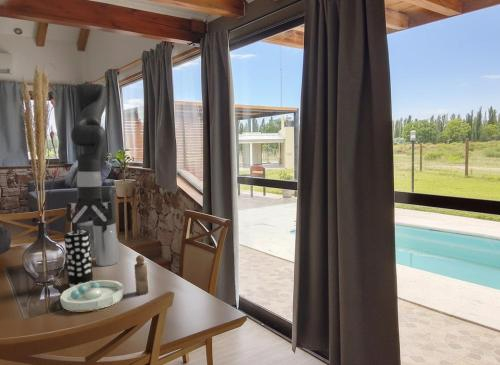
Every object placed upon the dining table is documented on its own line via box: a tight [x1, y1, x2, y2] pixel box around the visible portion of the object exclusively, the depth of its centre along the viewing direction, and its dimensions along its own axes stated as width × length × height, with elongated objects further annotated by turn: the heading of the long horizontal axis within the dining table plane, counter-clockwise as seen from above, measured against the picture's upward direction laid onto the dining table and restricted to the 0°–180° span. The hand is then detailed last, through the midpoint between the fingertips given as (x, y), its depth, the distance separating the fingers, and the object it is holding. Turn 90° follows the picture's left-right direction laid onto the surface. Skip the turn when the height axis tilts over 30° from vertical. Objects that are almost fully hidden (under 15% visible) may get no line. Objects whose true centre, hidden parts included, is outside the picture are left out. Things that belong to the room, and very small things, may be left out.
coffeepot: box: [77, 216, 96, 259], centre depth 182 cm, size 15×9×18 cm, turn 87°
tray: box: [59, 279, 124, 311], centre depth 131 cm, size 19×19×4 cm
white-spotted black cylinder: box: [63, 229, 94, 289], centre depth 144 cm, size 8×8×20 cm
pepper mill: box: [134, 254, 149, 296], centre depth 136 cm, size 4×4×13 cm
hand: (89, 233), depth 133 cm, fingers open, 8 cm apart
